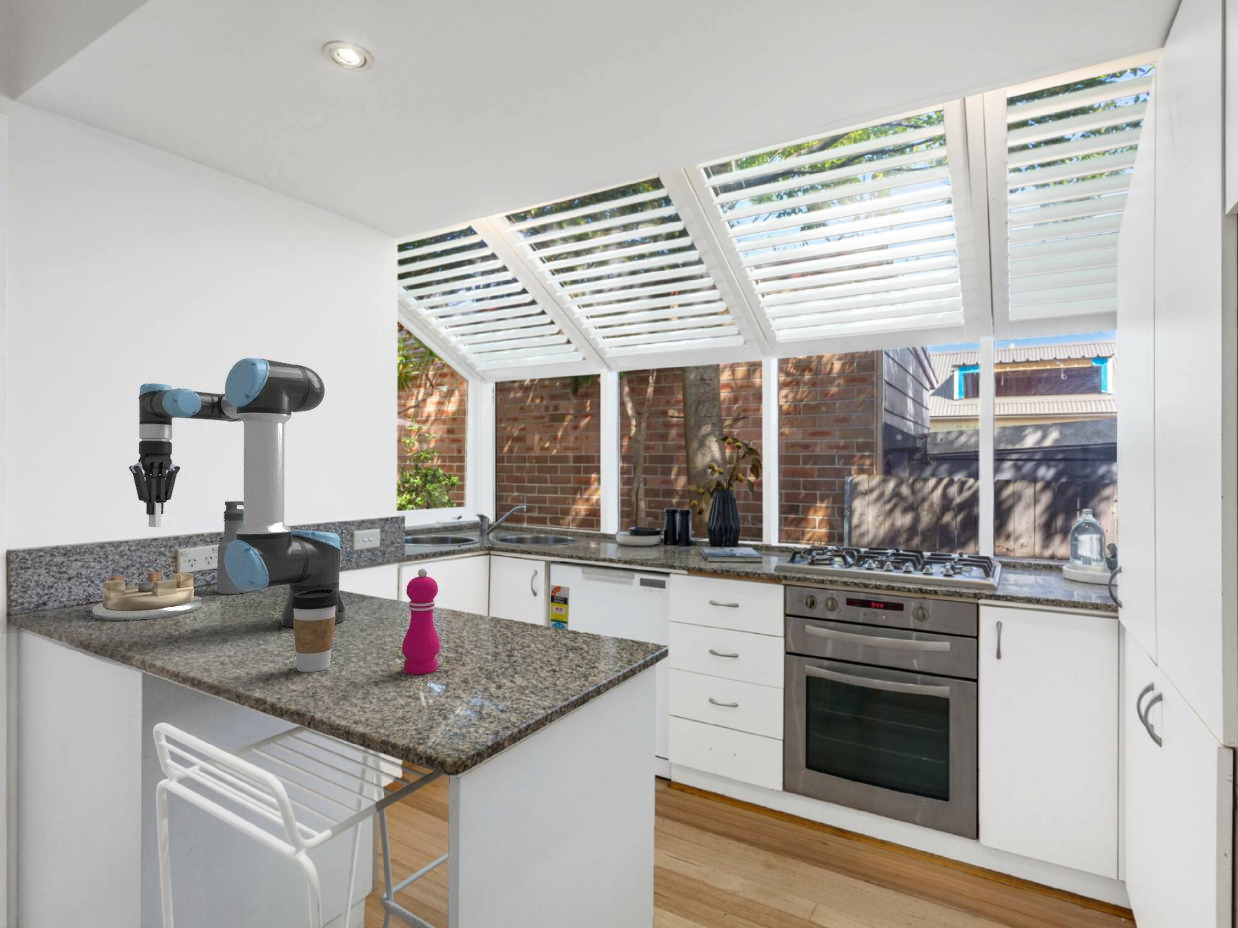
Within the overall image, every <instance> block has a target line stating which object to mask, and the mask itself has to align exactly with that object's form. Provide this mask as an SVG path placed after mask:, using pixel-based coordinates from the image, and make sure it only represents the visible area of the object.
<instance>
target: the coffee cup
mask: <svg viewBox="0 0 1238 928" xmlns="http://www.w3.org/2000/svg"><path fill="white" fill-rule="evenodd" d="M337 601H338V600H337V595H336V590H334V589H328V588H322V589H314V590H309V591H304V592H300V593H297V594H295V595H294V596H293V601H292V603H291V604H292V606H291V607H292V608H294V617H293V624H294V627H293V634H294V635H293V636H294V647H295V648H294V649H295V657H296V659H295V660H296V670H297V671H298V672H302V673H313V672H320V671H324V670H328V669H329V668H330V666H331V656H332V648H333V641H334V634H335V625H336V624H335V617H336V615H335V607H336V605H338V603H337Z"/></svg>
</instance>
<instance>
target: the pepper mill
mask: <svg viewBox="0 0 1238 928" xmlns="http://www.w3.org/2000/svg"><path fill="white" fill-rule="evenodd" d="M417 575H418V576H415V577H413V578H412V579H410V580H409V582H408V583H407V585H406V595H407V597H408V598H409V600H410V601H408V605H409V606H408V609H409V610H410V623H409V626H408V629H407V631H406V634H405V636H404V638H403V642H402V645H401V652H402V654H403V656H404V657H405V658H406V660H405V661H404V663H403V671H404V672H405V673H406V674H409V675H427V674H430V673H434V672H435V670H436V671H437V669H438V658H435V657H436V656H437V655H438V654H439V653H440V650H441V642H440V638H439V636H438V633H437V631H436V627H435V624H434V617H433V614H434V613H433V612H434V609H435V608H436V605H435V604H436V600H434V599H435V598H436V597H437V595H438V593H439V585H438V583H437V581H436V580H435V578H432V576H431V577H430V576H428V570H427V569H426V568H423V567H422V568H420V569H419V570H417Z"/></svg>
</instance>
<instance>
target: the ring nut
mask: <svg viewBox="0 0 1238 928" xmlns="http://www.w3.org/2000/svg"><path fill="white" fill-rule="evenodd" d="M102 583H103V584H102V590H103V591H102V603H103V607H104V608H107V609H114V610H140V609H153V608H162V607H169V606H175V605H180V604H184V603H188V602H190V601H192V600H193V599H194V596H195V595H194V593H195V592H194V589H195V587H194V573H189V572H179V573H173V574H172V579H170V578H169V579H164V580H163V579H162V572H158V571H150V572H147V581H146V582H145V581H144V582H140V583H138V585H137V586H136V585H135V586H128V587H126V581H125V576H122V575H114V576H113V575H112V576H109V580H105V581H103V582H102Z"/></svg>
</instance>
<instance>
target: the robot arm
mask: <svg viewBox="0 0 1238 928" xmlns="http://www.w3.org/2000/svg"><path fill="white" fill-rule="evenodd" d="M325 391H326V389H325V384H324V381H323V379H322V378H321V376H320V375H319V374H318V373H317V372H316V371H315V370H313V368H310V367H307V366H305V365H301V364H295V363H294V364H293V363H287V362H283V361H278V360H276V361H275V360H272V359H265V358H255V357H254V358H252V357H246V358H242V359H240V360H238V361H237V362H235V364H234V365H233V366H232V368H231V369H230V370H229V372H228V374H227V376H226V380H225V385H224V393H213V392H204V391H203V392H202V391H197V390H194V391H193V390H192V389H189V388H180V387H179V388H177V387H176V388H173V387H172V386H171V385H170V384H163V383H143V384H141V385H140V387H139V395H138V409H139V410H138V411H139V412H138V414H139V415H138V417H139V419H138V420H139V422H138V423H139V425H138V428H139V429H138V438H139V439H140V441H139V442H138V455H139V458H138V460H137V463H135V464H134V465H130V466H129V467H128V469H129V471H130V472H131V474H132V477H133V481H134V484H135V489H136V493H137V498H138V501H141V502H143V503H144V504H145V506H146V509H145V510H146V512H145V513H146V515H147V516H148V527H149V528H162V515H163V514H164V507H165V506H164V505H165V503H167V501H170V500H171V499H172V496H173V492H174V488H175V484H176V479H177V475H178V473H179V472H180V470H181V467H180V465H176V464H174V463H173V461H172V458H171V455H172V454H173V443H172V442H171V441H172V439H173V419H174V418H175V419H177V418H179V419H181V418H182V419H193V420H210V421H222V422H224V421H225V422H228V423H229V422H230V423H231V422H238V423H239V422H242V423H243V501H244V506H243V509H244V524H243V526H242V527H241V528H240V529H239V530H238V531H237V532H236V540H235V541H233V542H231V543H230V544H229V545H228V546H227V550H225V555H224V562H225V568H226V571H227V574H228V576H229V578H230V579H231V580H232V582H233V583H234V584H235V585H236V586H237V587H239V588H241V589H245V590H251V589H253V590H264V589H266V588H273V587H280V586H285V585H289V587H288V588H289V590H288V595H287V597H286V600H285V603H284V606H283V608H282V611H281V614H280V624H281V625H282V626H283V627H289V628H294V624H293V617H294V608H292V607H291V606H292V604H291V603H292V601H293V596H294V595H295V594H297V593H300V592H304V591H309V590H314V589H322V588H328V589H334V590H336V595H337V600H338V601H337V603H338V605H336V607H335V615H336V617H335V625H337V624H341V623H343V622H345V621H346V620H347V611H346V610H347V609H346V606H345V603H344V600H343V597H342V595H341V591H340V563H341V561H340V559H341V550H342V548H341V539H340V536H339V535H338V534H337V533H335V532H329V531H320V530H319V531H318V530H304V529H303V530H302V529H291V528H290V527H289V526H288V525H286V523H285V424H286V423H287V422H288V421H289V420H290V419H292V413H302V412H303V413H304V412H308V411H309V412H310V411H311V410H314V409H316V408H317V407H318V406H319V405H321V403H322V402H323V400H324V397H325ZM170 440H171V441H170Z"/></svg>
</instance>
